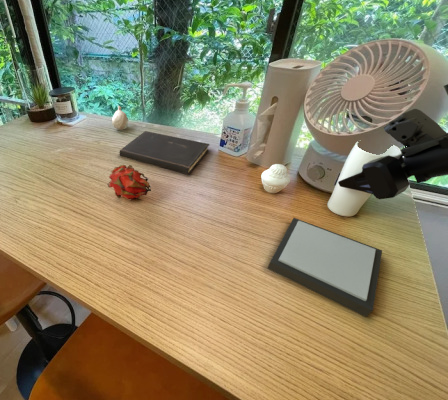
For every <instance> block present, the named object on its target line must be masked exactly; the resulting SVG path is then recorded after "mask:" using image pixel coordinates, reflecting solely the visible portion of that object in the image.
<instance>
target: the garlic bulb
mask: <svg viewBox="0 0 448 400" xmlns="http://www.w3.org/2000/svg"><path fill="white" fill-rule="evenodd" d="M117 108H118V109H117V110H116V111H115V112H114V113H113V116H112V119H111V124H112V126H113V127H114V128H115V129H116V130H118V131H122V130H125V129H127V127H128V125H129V117H128V115H127V113H126V112H124V111H122V108H123V107H122V106H120V105H118V106H117Z"/></svg>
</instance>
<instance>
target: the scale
mask: <svg viewBox="0 0 448 400" xmlns="http://www.w3.org/2000/svg"><path fill="white" fill-rule="evenodd" d="M382 254H383V249H380V248H377V247H374V246H372V245H369V244H366V243H363V242H361V241H358V240H356V239H354V238H350V237H348V236H345V235H342V234H339V233H337V232H334V231H331V230H329V229H326V228H323V227H321V226H318V225H315V224H312V223H311V222H310V223H309V222H307V221H304V220H302V219H299V218H296V217H293V218H292V220H291V222H290V223H289V226H288V227H287V229H286V231H285V232H284V235H283V236H282V238H281V240H280V242H279V243H278V246H277V247H276V250H275V252H274V254H273V255H272V258H271V259H270V260H269V263H268V266H267V268H266V269H267V270H269V271H272V272H274V273H275V274H277V275H280V276H281V277H283V278H286V279H287V280H290V281H292V282H294V283H295V284H298V285H300V286H301V287H304V288H305V289H308V290H310V291H312V292H314V293H316V294H318V295H320V296H322V297H324V298H326V299H328V300H330V301H332V302H334V303H336V304H338V305H340V306H341V307H345V308H346V309H348V310H350V311H352V312H355V313H356V314H358V315H361V316H362V317H364V318H366V317H367V316H369V315H370V314H371V313H372V312H373V311H374V305H375V301H376V293H377V287H378V286H377V285H378V280H379V274H380V268H381V263H382V262H381V261H382Z"/></svg>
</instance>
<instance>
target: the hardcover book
mask: <svg viewBox="0 0 448 400" xmlns="http://www.w3.org/2000/svg"><path fill="white" fill-rule="evenodd" d="M209 146H210V143H205V142H202V141H196V140H191V139H187V138H182V137H178V136H172V135H167V134H162V133H157V132H152V131H147V130H145V131H143V132H142V133H141V134H139V135H138V136H137V137H136V138H134V139H133V140H131V141H130V142H129V143H128V144H126V145H124V146H123V147H122V148H121V149H119V157H121V158H126V159H129V160H132V161H136V162H140V163H143V164H147V165H151V166H155V167H159V168H162V169H166V170H169V171H173V172H177V173H180V174H184V175H187V176H188V175H190V174H191V173H192V171H193V170H194V169H195V168H196V167H197V166H198V165H199V163H200V162H201V160H202V159H203V158H204V157H205V156H206V154H207V153H208V152H209V149H208V148H209Z"/></svg>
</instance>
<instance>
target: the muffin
mask: <svg viewBox="0 0 448 400" xmlns="http://www.w3.org/2000/svg"><path fill="white" fill-rule="evenodd" d="M260 176H261V183H262V187H263V189H264V191H265V192H267V193H270V194H276V193H279V192H280V191H282V190H283V189H285V188H286V187H287V185H289V184H290V182H291V176H290V174H289V173H288V168H287V167H286V165H283V164H281V163H275V164H272V165H271V166H270V167H269V168H268V169H265V170H264V171H263V172H261V175H260Z"/></svg>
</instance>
